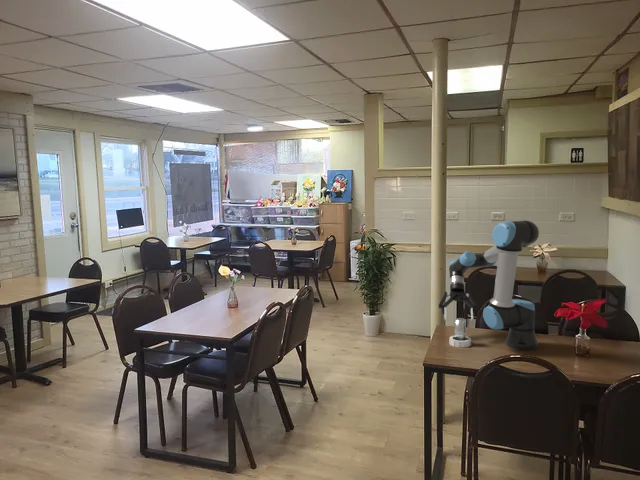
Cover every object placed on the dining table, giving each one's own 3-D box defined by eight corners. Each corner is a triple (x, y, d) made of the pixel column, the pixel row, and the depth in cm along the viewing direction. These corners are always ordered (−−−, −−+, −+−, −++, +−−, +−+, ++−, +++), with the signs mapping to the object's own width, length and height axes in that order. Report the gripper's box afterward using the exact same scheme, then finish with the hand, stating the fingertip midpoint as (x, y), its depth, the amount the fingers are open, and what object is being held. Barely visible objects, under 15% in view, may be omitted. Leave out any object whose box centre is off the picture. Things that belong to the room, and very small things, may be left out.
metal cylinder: (468, 342, 249) (468, 320, 247) (459, 344, 246) (459, 321, 245) (460, 339, 253) (460, 317, 252) (452, 341, 251) (452, 319, 250)
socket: (475, 345, 247) (475, 339, 247) (459, 348, 243) (459, 342, 243) (461, 339, 257) (461, 334, 257) (445, 342, 252) (445, 337, 252)
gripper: (480, 289, 266) (483, 324, 253) (433, 289, 271) (434, 322, 258) (481, 282, 260) (484, 316, 247) (433, 281, 266) (434, 315, 253)
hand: (458, 319), depth 253 cm, fingers open, 13 cm apart
